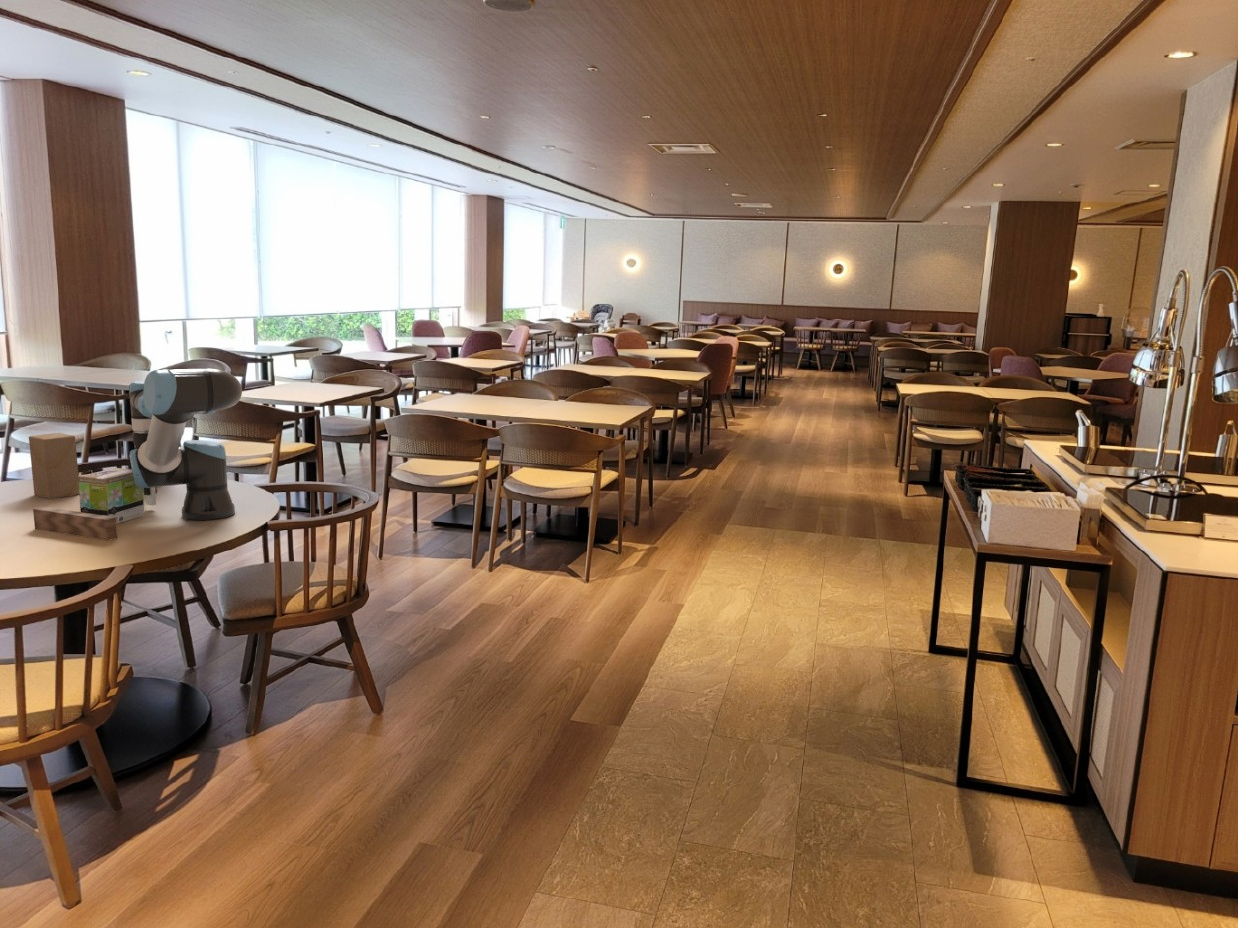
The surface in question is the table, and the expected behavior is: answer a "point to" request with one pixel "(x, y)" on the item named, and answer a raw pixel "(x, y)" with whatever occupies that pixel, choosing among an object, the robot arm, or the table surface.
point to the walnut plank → (75, 523)
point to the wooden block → (54, 465)
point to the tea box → (111, 494)
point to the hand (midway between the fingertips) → (151, 504)
